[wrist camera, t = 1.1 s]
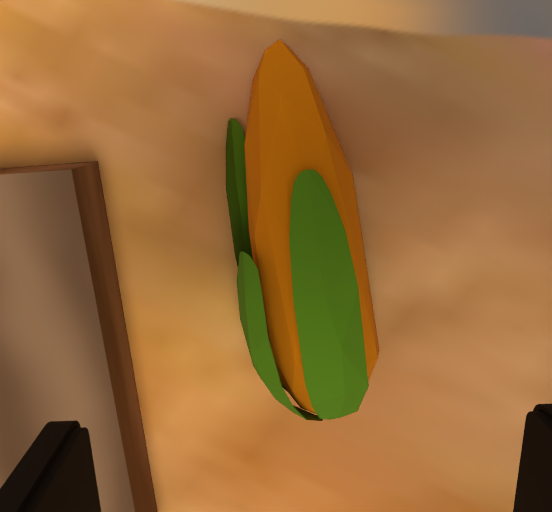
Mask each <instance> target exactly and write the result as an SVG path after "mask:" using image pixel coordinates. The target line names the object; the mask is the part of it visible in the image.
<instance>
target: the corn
mask: <svg viewBox="0 0 552 512" xmlns="http://www.w3.org/2000/svg"><path fill="white" fill-rule="evenodd" d="M226 191H227V199H228V206H229V213H230V221H231V228H232V236H233V243H234V250H235V256H236V260H237V265H238V275H237V288H238V300H239V311H240V320H241V323H242V327H243V331H244V334H245V338H246V341H247V345H248V349H249V352H250V356H251V359H252V363H253V366H254V368H255V369H256V371H257V373H258V374H259V376H260V378H261V379H262V381H263V382H264V383H265V385H266V386H267V388H268V389H269V390H270V392H271V393H272V395H273V396H274V397H275V399H277V400H278V401H279V402H280V403H282V404H283V405H284V406H286V407H287V408H288V409H289V410H291V411H292V412H293V413H295V414H297V415H299V416H301V417H303V418H304V419H306V420H316V421H322V420H323V419H335V418H340V417H343V416H345V415H348V414H351V413H353V412H356V411H358V408H359V406H360V404H361V402H362V400H363V397H364V395H365V393H366V391H367V389H368V386H369V384H368V381H369V378H370V376H371V373H372V371H373V368H374V366H375V363H376V361H377V359H378V354H379V345H378V338H377V332H376V325H375V319H374V312H373V305H372V299H371V292H370V286H369V279H368V272H367V266H366V259H365V253H364V246H363V239H362V233H361V226H360V220H359V213H358V206H357V200H356V193H355V187H354V180H353V175H352V173H351V170H350V168H349V166H348V163H347V161H346V158H345V156H344V154H343V151H342V149H341V146H340V144H339V141H338V139H337V137H336V134H335V132H334V129H333V127H332V125H331V122H330V120H329V117H328V115H327V112H326V110H325V108H324V105H323V103H322V100H321V98H320V96H319V93H318V91H317V88H316V86H315V83H314V81H313V79H312V76H311V74H310V71H309V69H308V68H307V67H306V66H305V64H304V63H303V62H302V61H301V60H300V59H299V58H298V57H297V56H296V55H295V54H294V52H293V51H292V50H291V49H290V48H289V47H288V46H287V45H285V44H284V43H283V42H282V41H281V40H278V41H277V42H276V43H274V44H273V45H272V46H270V47H269V48H268V49H266V50H265V52H264V55H263V57H262V59H261V62H260V64H259V67H258V69H257V72H256V74H255V77H254V79H253V84H252V91H251V99H250V106H249V114H248V122H247V129H246V137H245V135H244V132H243V129H242V126H241V125H240V124H239V122H238V121H237V120H236V119H232V118H231V119H230V120H229V121H228V129H227V142H226ZM282 387H283V388H284V389H285V390H286V391H288V392H289V394H290V395H291V396H292V397H293V399H294V400H295V401H296V402H297V404H298V405H299V406H300V408H302V409H305V410H308V411H310V412H313V413H316V414H317V415H314V414H312V413H309V412H307V411H305V410H302V409H300V408H298V407H295V406H293V405H292V404H291V402H290V400H289V398H288V397H287V395H286V393H285V391H284V389H283V388H282Z"/></svg>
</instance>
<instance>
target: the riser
mask: <svg viewBox="0 0 552 512" xmlns="http://www.w3.org/2000/svg"><path fill="white" fill-rule="evenodd" d="M75 420H76V421H78V422H79V423H80V426H81V427H86V428H87V429H88V431H89V435H90V442H91V448H92V455H93V461H94V468H95V474H96V481H97V487H98V493H99V500H100V506H101V512H157V507H156V501H155V495H154V489H153V484H152V478H151V472H150V466H149V460H148V454H147V448H146V443H145V437H144V431H143V425H142V419H141V413H140V407H139V401H138V396H137V390H136V384H135V378H134V372H133V366H132V360H131V354H130V349H129V343H128V337H127V331H126V325H125V319H124V313H123V307H122V302H121V296H120V290H119V284H118V278H117V272H116V266H115V260H114V255H113V249H112V243H111V237H110V231H109V225H108V219H107V213H106V208H105V202H104V196H103V190H102V184H101V178H100V172H99V166H98V162H84V163H70V164H57V165H43V166H29V167H16V168H2V169H0V488H1V487H2V486H3V484H4V483H5V481H6V480H7V478H8V477H9V476H10V474H11V473H12V471H13V470H14V469H15V467H16V466H17V464H18V463H19V462H20V460H21V459H22V457H23V456H24V454H25V453H26V452H27V450H28V449H29V447H30V446H31V445H32V443H33V442H34V440H35V439H36V438H37V436H38V435H39V433H40V432H41V430H42V429H43V428H44V426H45V425H46V424H47V423H48V422H50V421H75Z"/></svg>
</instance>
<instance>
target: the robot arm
mask: <svg viewBox="0 0 552 512" xmlns="http://www.w3.org/2000/svg"><path fill="white" fill-rule="evenodd" d="M0 512H101V506H100V500H99V493H98V487H97V481H96V474H95V468H94V461H93V455H92V448H91V442H90V435H89V431H88V429H87V428H86V427H81V426H80V423H79V422H78V421H76V420H75V421H50V422H48V423H47V424H46V425H45V426H44V428H43V429H42V430H41V432H40V433H39V435H38V436H37V438H36V439H35V440H34V442H33V443H32V445H31V446H30V447H29V449H28V450H27V452H26V453H25V454H24V456H23V457H22V459H21V460H20V462H19V463H18V464H17V466H16V467H15V469H14V470H13V471H12V473H11V474H10V476H9V477H8V478H7V480H6V481H5V483H4V484H3V486H2V487H1V488H0ZM513 512H552V404H538V405H536V406H535V408H534V410H533V411H531V412H528V414H527V416H526V421H525V429H524V436H523V443H522V451H521V458H520V465H519V473H518V480H517V487H516V495H515V502H514V509H513Z"/></svg>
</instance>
